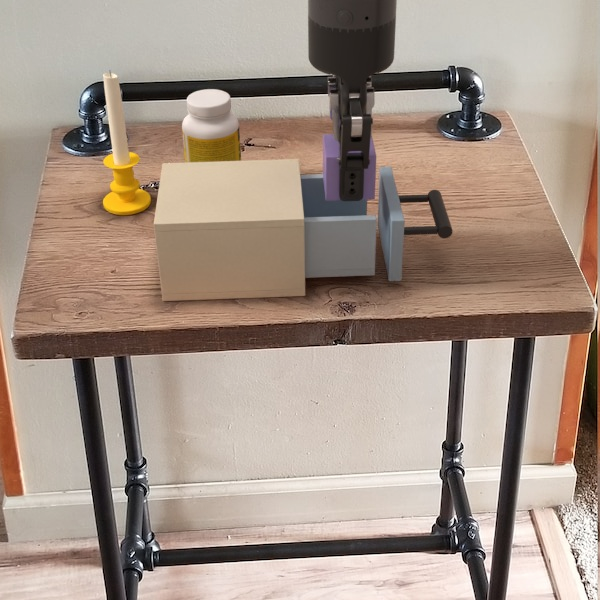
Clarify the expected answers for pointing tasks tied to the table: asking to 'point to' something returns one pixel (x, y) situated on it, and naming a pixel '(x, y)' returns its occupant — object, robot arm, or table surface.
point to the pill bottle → (210, 128)
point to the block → (333, 170)
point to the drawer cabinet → (230, 230)
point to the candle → (121, 158)
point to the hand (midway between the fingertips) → (348, 184)
